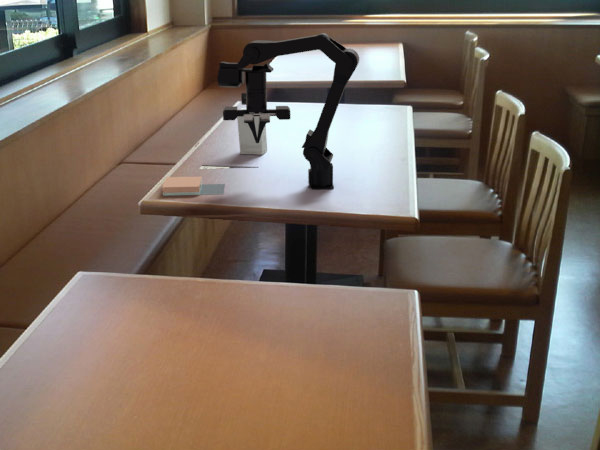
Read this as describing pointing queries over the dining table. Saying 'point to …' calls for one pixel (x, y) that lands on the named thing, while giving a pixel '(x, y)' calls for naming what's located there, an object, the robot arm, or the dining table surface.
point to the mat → (212, 189)
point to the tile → (182, 186)
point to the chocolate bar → (222, 167)
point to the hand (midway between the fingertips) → (257, 142)
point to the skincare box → (250, 137)
